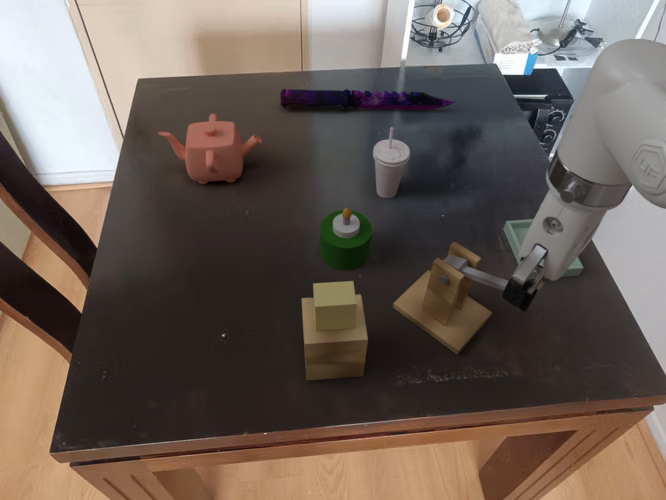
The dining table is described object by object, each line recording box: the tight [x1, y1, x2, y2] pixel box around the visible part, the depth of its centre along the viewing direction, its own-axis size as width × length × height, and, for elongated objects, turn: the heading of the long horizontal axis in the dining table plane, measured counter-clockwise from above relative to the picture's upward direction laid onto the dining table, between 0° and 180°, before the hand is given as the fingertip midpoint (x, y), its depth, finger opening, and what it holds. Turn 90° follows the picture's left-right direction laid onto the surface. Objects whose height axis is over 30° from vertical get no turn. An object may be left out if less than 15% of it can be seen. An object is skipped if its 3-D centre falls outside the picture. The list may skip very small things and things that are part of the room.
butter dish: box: [502, 218, 584, 281], centre depth 90 cm, size 11×9×2 cm
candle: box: [319, 207, 373, 271], centre depth 86 cm, size 8×8×10 cm
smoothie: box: [372, 126, 411, 199], centre depth 94 cm, size 6×6×14 cm
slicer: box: [392, 241, 493, 355], centre depth 77 cm, size 12×9×13 cm
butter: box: [312, 280, 357, 331], centre depth 67 cm, size 5×4×6 cm
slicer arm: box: [442, 254, 545, 311], centre depth 71 cm, size 13×5×2 cm, turn 47°
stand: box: [301, 293, 369, 381], centre depth 73 cm, size 8×7×10 cm
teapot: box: [157, 113, 262, 185], centre depth 99 cm, size 14×12×10 cm
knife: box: [279, 88, 456, 112], centre depth 114 cm, size 37×4×5 cm, turn 89°
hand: (535, 278), depth 65 cm, fingers open, 9 cm apart
